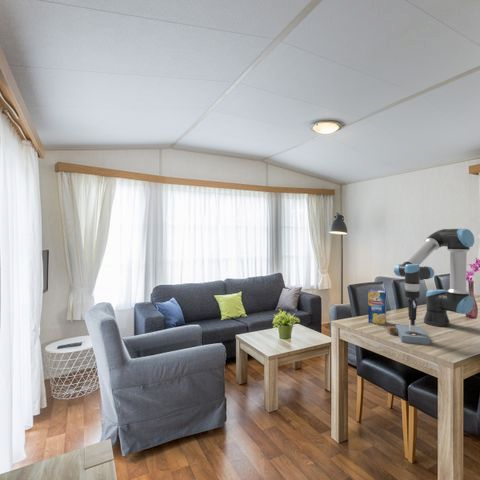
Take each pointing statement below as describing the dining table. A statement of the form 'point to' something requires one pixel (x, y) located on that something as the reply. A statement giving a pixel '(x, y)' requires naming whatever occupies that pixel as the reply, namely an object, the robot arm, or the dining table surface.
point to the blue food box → (377, 306)
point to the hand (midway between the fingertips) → (412, 330)
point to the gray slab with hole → (407, 335)
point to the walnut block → (392, 330)
